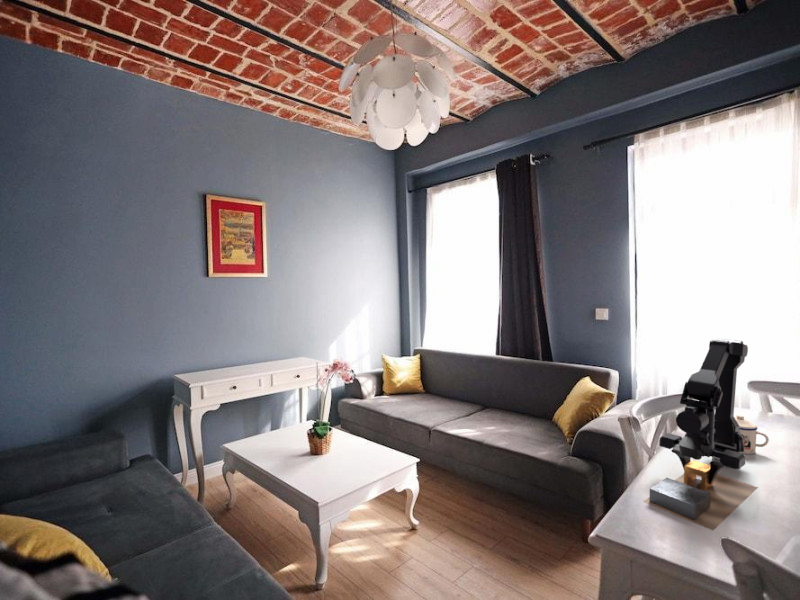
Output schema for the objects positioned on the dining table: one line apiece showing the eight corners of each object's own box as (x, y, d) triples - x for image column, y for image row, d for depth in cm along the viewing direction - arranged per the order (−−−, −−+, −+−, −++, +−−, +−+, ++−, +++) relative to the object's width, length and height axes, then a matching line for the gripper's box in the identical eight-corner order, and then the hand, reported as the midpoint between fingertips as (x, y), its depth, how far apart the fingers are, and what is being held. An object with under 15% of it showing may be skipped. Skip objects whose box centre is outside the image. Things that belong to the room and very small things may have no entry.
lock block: (692, 477, 118) (693, 460, 118) (713, 484, 114) (714, 466, 114) (683, 482, 115) (684, 465, 114) (705, 490, 110) (705, 472, 110)
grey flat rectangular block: (684, 477, 119) (685, 465, 118) (727, 492, 110) (727, 479, 110) (649, 501, 106) (649, 488, 106) (694, 520, 98) (695, 506, 98)
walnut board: (694, 470, 125) (694, 466, 125) (757, 491, 113) (757, 487, 113) (643, 505, 106) (643, 501, 106) (712, 535, 94) (713, 530, 94)
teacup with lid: (720, 449, 141) (721, 415, 140) (724, 441, 147) (725, 409, 147) (766, 460, 132) (768, 424, 132) (769, 451, 139) (770, 417, 138)
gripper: (651, 421, 116) (649, 474, 117) (732, 442, 101) (730, 504, 102) (668, 413, 123) (666, 464, 124) (747, 432, 108) (744, 490, 108)
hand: (698, 479), depth 114 cm, fingers closed on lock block, 5 cm apart
